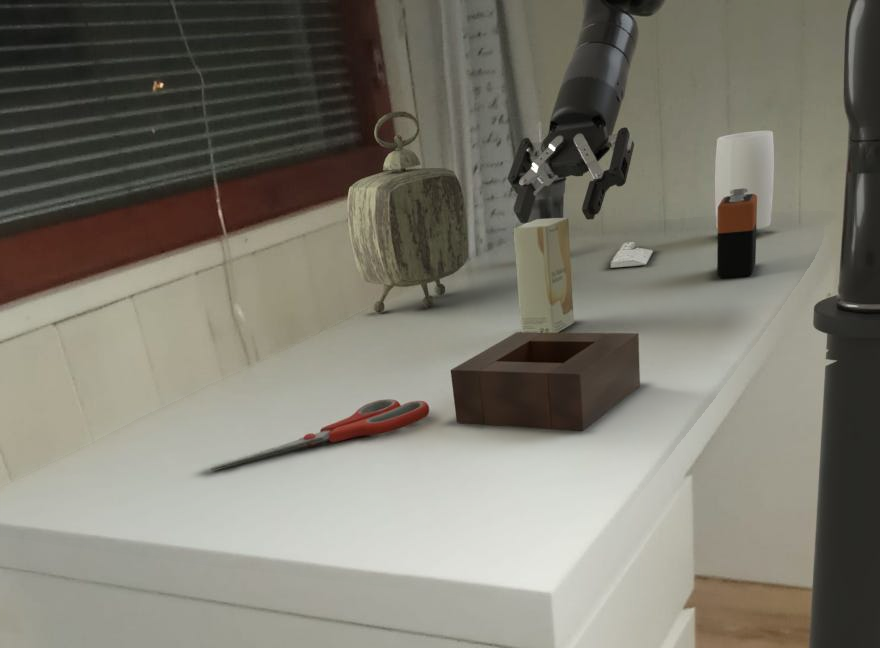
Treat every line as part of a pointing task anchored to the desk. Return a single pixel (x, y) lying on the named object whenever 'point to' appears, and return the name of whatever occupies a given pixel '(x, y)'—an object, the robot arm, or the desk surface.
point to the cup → (746, 170)
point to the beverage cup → (548, 195)
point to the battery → (736, 234)
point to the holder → (547, 379)
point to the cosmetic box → (544, 275)
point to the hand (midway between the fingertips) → (553, 217)
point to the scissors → (356, 425)
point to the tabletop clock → (407, 222)
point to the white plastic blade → (630, 256)
